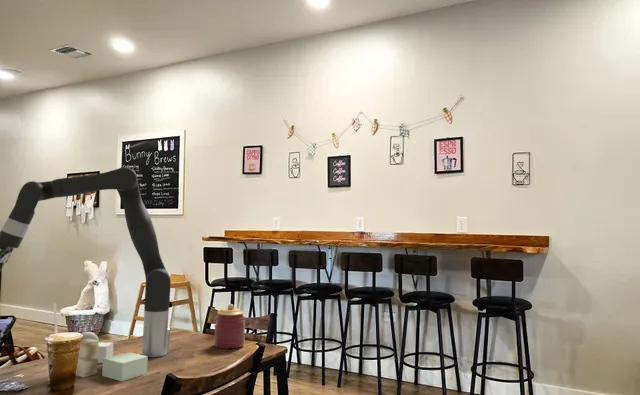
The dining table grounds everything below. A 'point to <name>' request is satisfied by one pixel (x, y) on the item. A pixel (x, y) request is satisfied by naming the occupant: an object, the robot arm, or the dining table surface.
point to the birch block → (88, 358)
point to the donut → (89, 336)
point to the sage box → (124, 366)
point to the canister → (229, 328)
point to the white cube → (104, 351)
